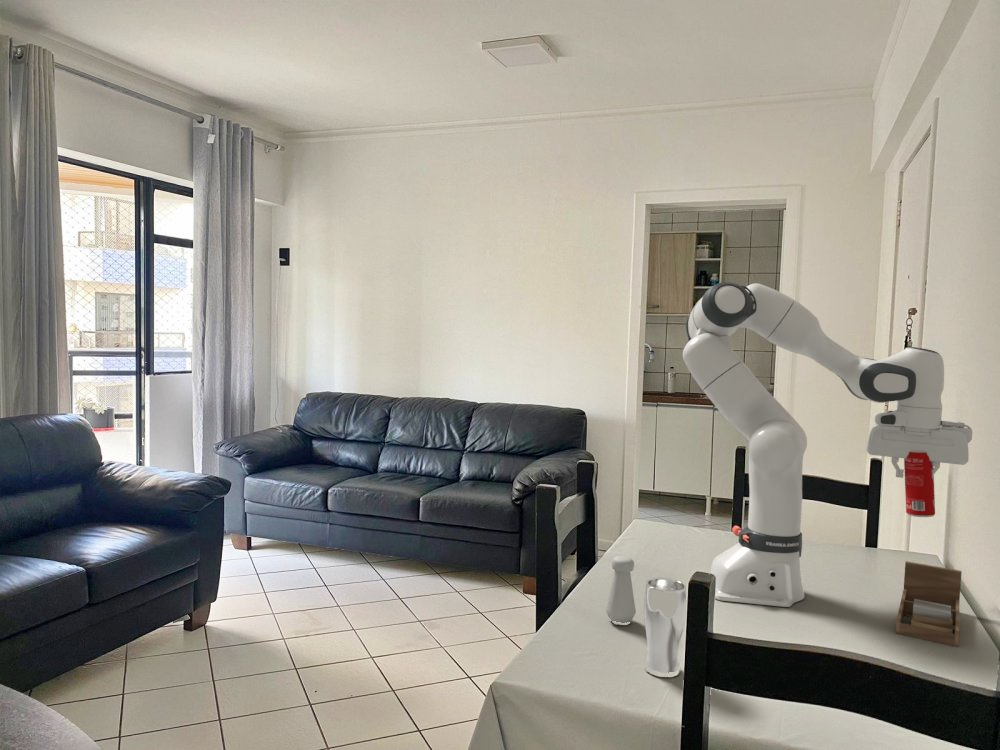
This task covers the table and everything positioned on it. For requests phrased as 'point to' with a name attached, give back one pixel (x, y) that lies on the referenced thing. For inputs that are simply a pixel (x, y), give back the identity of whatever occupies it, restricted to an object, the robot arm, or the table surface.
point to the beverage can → (919, 485)
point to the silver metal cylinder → (932, 616)
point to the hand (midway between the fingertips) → (914, 479)
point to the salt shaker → (621, 591)
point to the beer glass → (664, 622)
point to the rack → (930, 599)
